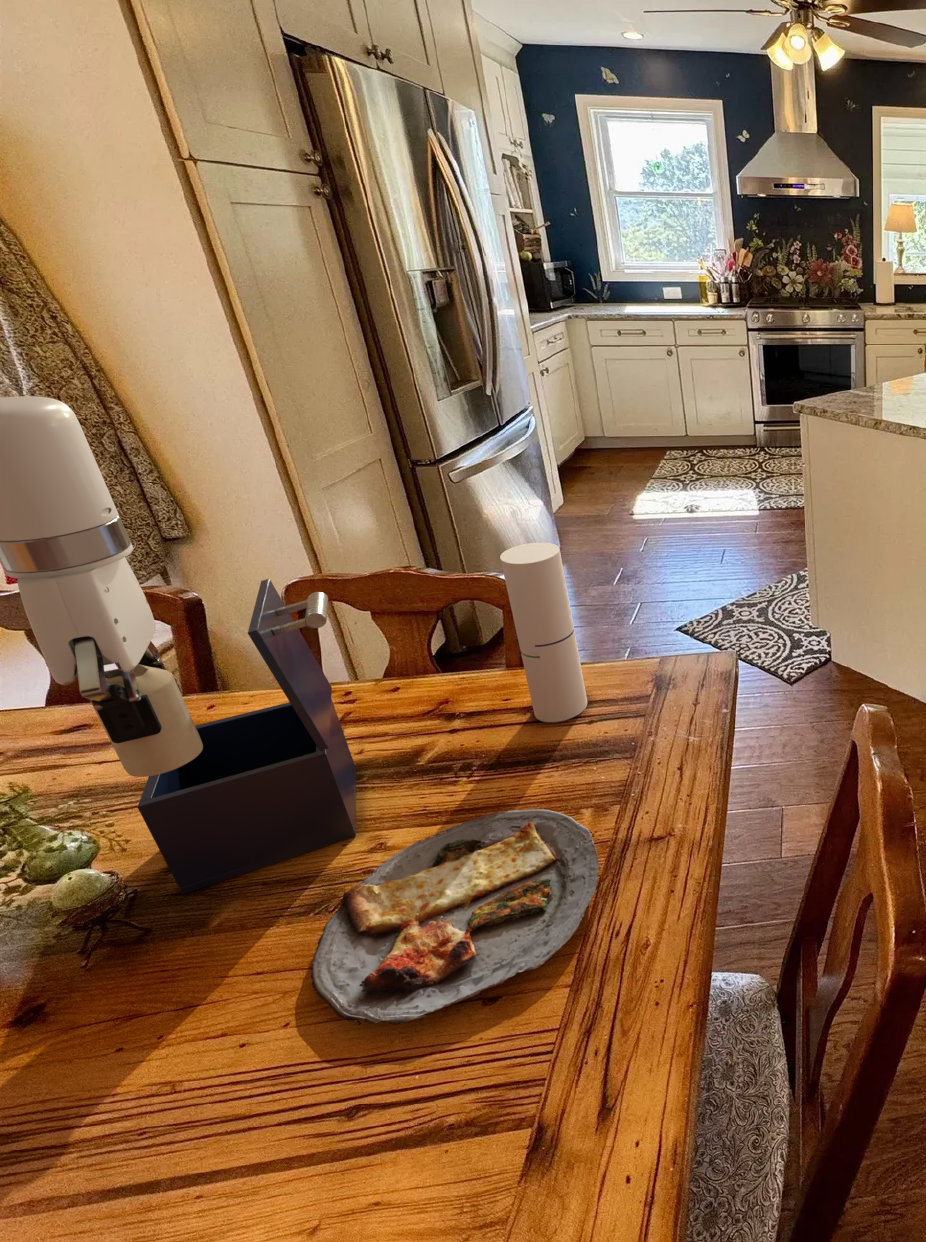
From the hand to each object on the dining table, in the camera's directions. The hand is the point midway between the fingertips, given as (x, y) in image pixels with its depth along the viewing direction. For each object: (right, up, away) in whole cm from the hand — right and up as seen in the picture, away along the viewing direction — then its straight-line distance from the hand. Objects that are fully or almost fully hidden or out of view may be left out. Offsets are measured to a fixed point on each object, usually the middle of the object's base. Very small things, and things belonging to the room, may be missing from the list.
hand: (146, 717), depth 70 cm
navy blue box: (-1, -16, +16) cm, 23 cm away
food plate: (+27, -22, +6) cm, 36 cm away
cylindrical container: (+21, -7, +38) cm, 44 cm away
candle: (0, -5, +2) cm, 5 cm away
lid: (+4, +3, +11) cm, 12 cm away
